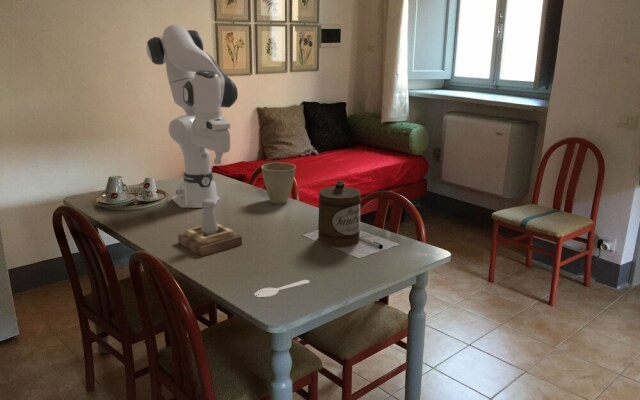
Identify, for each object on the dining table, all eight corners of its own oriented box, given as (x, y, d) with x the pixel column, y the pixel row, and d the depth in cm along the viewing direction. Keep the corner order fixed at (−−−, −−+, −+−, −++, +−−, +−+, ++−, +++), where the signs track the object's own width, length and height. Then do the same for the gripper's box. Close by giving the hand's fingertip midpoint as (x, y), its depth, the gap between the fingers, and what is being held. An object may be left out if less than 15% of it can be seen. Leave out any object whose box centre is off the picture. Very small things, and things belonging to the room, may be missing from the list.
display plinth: (178, 242, 186) (177, 229, 184) (218, 232, 196) (217, 219, 195) (201, 256, 174) (200, 242, 173) (242, 244, 185) (241, 231, 183)
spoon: (313, 285, 155) (313, 283, 155) (259, 300, 146) (258, 298, 146) (304, 278, 159) (304, 276, 159) (250, 293, 150) (250, 291, 150)
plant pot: (256, 204, 230) (255, 168, 225) (271, 195, 243) (270, 161, 238) (287, 208, 224) (286, 171, 220) (301, 198, 238) (301, 164, 233)
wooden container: (341, 251, 180) (342, 189, 173) (309, 240, 189) (309, 181, 183) (367, 239, 190) (369, 180, 184) (336, 229, 200) (337, 173, 193)
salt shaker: (206, 239, 180) (204, 203, 177) (198, 235, 185) (196, 199, 181) (221, 235, 184) (219, 200, 180) (213, 231, 188) (211, 196, 184)
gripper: (185, 117, 181) (187, 156, 185) (216, 126, 166) (217, 168, 171) (201, 116, 185) (203, 154, 189) (233, 124, 170) (234, 165, 175)
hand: (210, 161), depth 180 cm, fingers open, 8 cm apart
